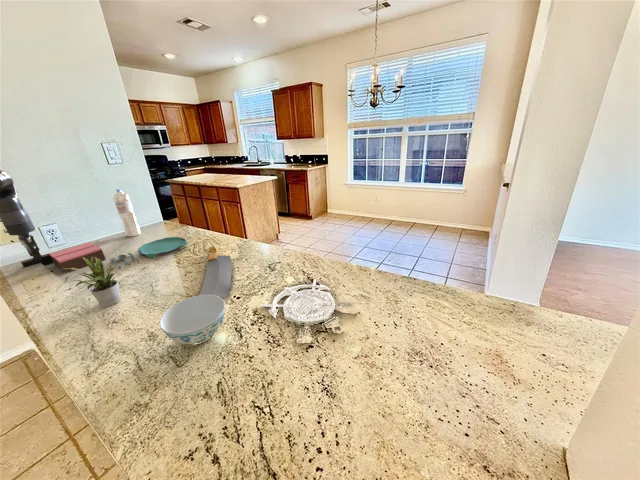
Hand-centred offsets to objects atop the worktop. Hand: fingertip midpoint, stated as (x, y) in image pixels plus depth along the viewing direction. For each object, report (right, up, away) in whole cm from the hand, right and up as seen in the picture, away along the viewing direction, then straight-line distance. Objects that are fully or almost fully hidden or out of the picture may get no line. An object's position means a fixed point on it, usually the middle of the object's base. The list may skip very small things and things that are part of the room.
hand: (36, 257), depth 111 cm
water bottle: (+18, +10, +33) cm, 39 cm away
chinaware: (+88, -18, -42) cm, 99 cm away
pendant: (+117, -13, -33) cm, 122 cm away
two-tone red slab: (+16, -2, +3) cm, 16 cm away
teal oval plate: (+43, +1, +9) cm, 44 cm away
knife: (+3, -2, +7) cm, 8 cm away
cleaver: (+81, -5, -11) cm, 82 cm away
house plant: (+50, -13, -26) cm, 58 cm away
